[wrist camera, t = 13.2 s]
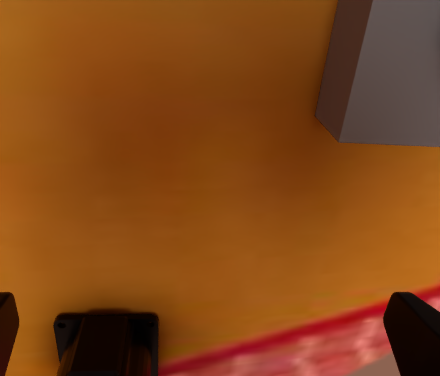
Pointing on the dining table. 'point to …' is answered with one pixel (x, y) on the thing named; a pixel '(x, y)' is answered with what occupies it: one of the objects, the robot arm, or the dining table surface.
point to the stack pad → (383, 73)
